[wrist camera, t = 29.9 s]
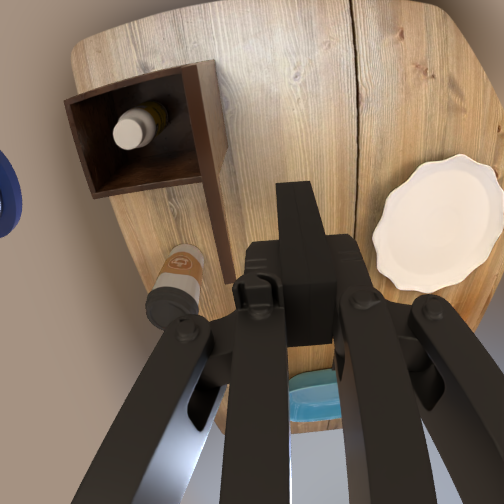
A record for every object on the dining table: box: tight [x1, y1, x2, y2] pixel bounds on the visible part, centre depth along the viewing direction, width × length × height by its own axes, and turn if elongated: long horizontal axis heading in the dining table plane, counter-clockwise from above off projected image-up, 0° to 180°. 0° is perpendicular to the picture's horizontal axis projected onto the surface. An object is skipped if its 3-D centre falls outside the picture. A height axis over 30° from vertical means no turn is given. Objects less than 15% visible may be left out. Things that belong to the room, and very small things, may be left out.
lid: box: [181, 62, 236, 284], centre depth 24 cm, size 18×14×1 cm
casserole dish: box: [289, 368, 342, 422], centre depth 80 cm, size 37×22×7 cm, turn 100°
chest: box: [64, 59, 228, 199], centre depth 38 cm, size 17×14×13 cm
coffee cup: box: [146, 244, 204, 331], centre depth 52 cm, size 8×8×15 cm
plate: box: [372, 154, 504, 293], centre depth 51 cm, size 29×29×2 cm
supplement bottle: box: [113, 101, 168, 150], centre depth 39 cm, size 5×5×10 cm
